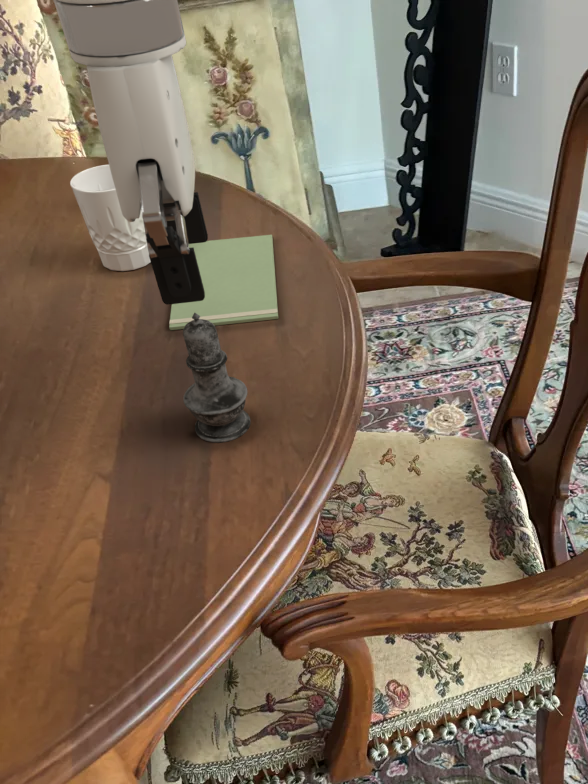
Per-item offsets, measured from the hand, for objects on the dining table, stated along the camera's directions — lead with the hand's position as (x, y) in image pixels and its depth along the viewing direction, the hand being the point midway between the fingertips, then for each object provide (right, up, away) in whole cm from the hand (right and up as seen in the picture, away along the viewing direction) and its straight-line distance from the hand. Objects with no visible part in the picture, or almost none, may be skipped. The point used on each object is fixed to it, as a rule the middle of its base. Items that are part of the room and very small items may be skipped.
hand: (187, 270), depth 63 cm
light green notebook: (-4, +9, +31) cm, 32 cm away
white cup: (-17, +13, +35) cm, 41 cm away
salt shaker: (0, -11, +12) cm, 16 cm away
